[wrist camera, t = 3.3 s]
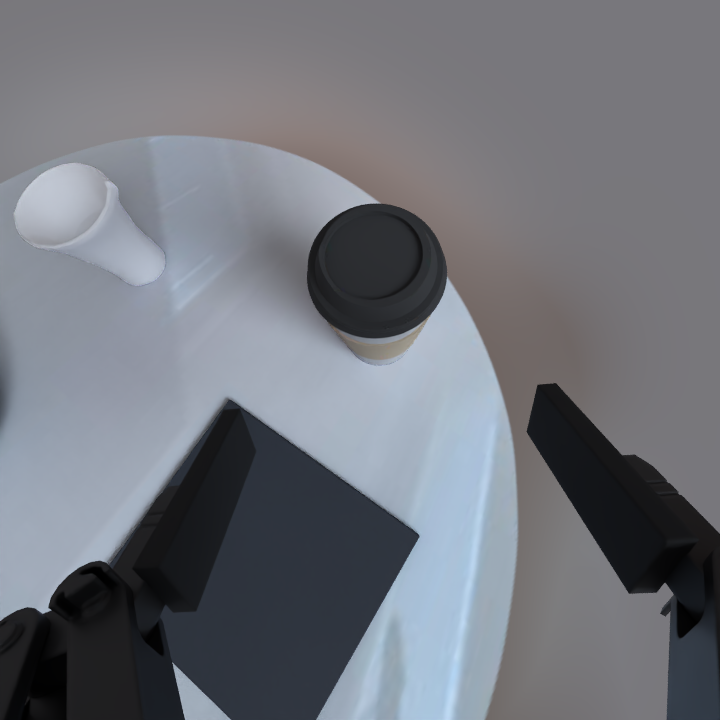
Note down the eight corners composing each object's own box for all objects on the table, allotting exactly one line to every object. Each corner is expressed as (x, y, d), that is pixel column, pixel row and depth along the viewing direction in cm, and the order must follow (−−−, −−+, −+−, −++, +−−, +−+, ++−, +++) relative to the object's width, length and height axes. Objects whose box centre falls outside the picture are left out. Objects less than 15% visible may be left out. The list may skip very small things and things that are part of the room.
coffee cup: (407, 282, 33) (424, 165, 19) (436, 361, 31) (480, 295, 17) (326, 307, 34) (281, 209, 19) (349, 387, 31) (318, 345, 17)
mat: (419, 534, 28) (419, 536, 27) (287, 767, 25) (285, 773, 24) (231, 400, 32) (229, 399, 31) (98, 583, 29) (94, 586, 28)
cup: (190, 281, 36) (117, 223, 26) (113, 308, 36) (10, 260, 26) (176, 219, 38) (104, 144, 28) (103, 244, 38) (6, 178, 28)
